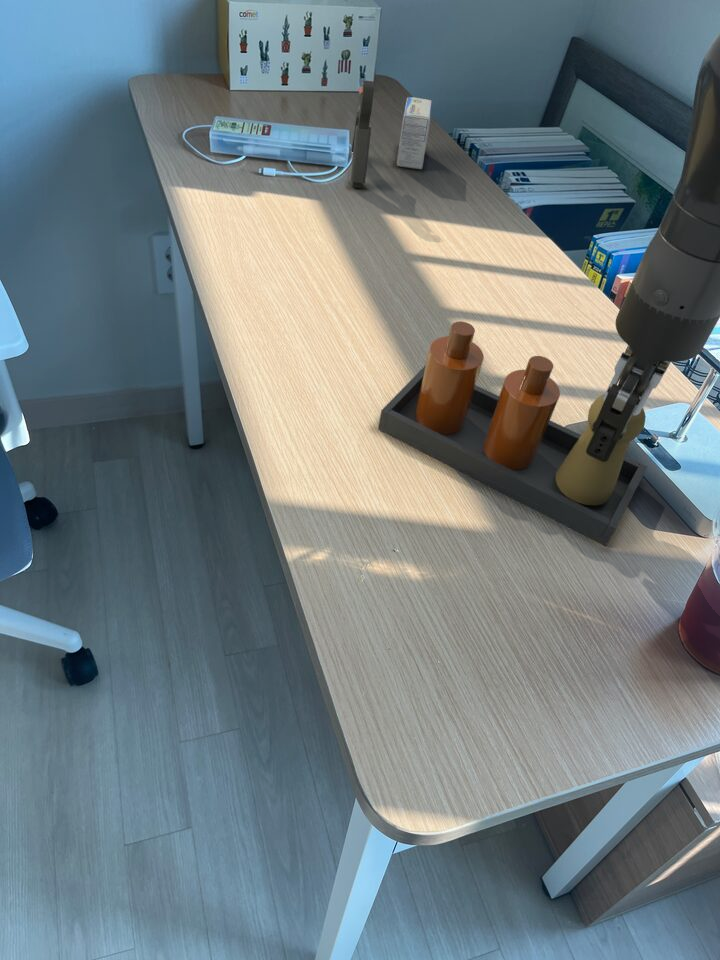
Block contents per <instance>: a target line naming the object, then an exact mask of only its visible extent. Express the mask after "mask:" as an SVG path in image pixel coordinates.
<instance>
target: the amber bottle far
mask: <svg viewBox="0 0 720 960" xmlns="http://www.w3.org/2000/svg"><path fill="white" fill-rule="evenodd" d="M475 333H476V328H475V327H474V326H473V325H472V324H471V323H469V322H466V321H455V322H453V323H452V324H451V326H450V330H449V334H448V335H445V336H441V337H439V338H436V339H435V340H433V342H431V344H430V346H429V350H428V353H427V358H426V363H425V365H426V367H425V371H424V376H423V380H422V384H421V389H420V393H419V397H418V402H417V406H416V410H415V417H416V419H417V421H418V423H419V424H421V425H423V426H425V427H427V428H429V429H431V430H433V431H435V432H437V433H439V434H452V433H455V432H457V431H459V430H460V429H461V428H462V427H463V426H464V423H465V420H466V417H467V413H468V410H469V407H470V403H471V400H472V397H473V393H474V390H475V386H477V382H478V379H479V376H480V373H481V369H482V366H483V363H484V353H483V350H482V348H480V346H479V345H477V344H476V343H475V342H473V340H474V338H475V337H474V336H475Z"/></svg>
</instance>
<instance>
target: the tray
mask: <svg viewBox="0 0 720 960" xmlns="http://www.w3.org/2000/svg"><path fill="white" fill-rule="evenodd" d="M425 367H426V364H425V365H424V366H423V367H422V368H421V369H420V370H419V371H418V372H417V373H416V374H415V375H414V376H413V377H412V379H410V380H409V382H407V383H406V384H405V385H404V386H403V387H402V389H400V391H398V392H397V394H396V395H395V396H394V397H393V398H392V399H390V401H388V403H387V404H386V405H385V406H384V407H383V408H382V409H381V410H380V416H379V422H378V425H377V430H379V431H381V432H383V433H385V434H386V435H389V436H390V437H393V438H394V439H396V440H397V441H400V442H401V443H404V444H406V445H408V446H410V447H412V448H414V449H415V450H418V451H420V452H422V453H423V454H425V455H427V456H429V457H431V458H433V459H435V460H437V461H439V462H441V463H443V464H445V465H447V466H449V467H451V468H453V469H454V470H456V471H459V472H461V473H462V474H464V475H466V476H468V477H470V478H472V479H474V480H476V481H478V482H480V483H482V484H484V485H485V486H487V487H490V488H492V489H494V490H496V491H497V492H499V493H501V494H503V495H506V496H507V497H509V498H511V499H513V500H515V501H517V502H519V503H521V504H523V505H525V506H527V507H529V508H531V509H533V510H535V511H536V512H538V513H541V514H542V515H544V516H547V517H548V518H550V519H552V520H554V521H556V522H558V523H560V524H562V525H564V526H566V527H567V528H570V529H571V530H573V531H576V532H577V533H579V534H581V535H583V536H585V537H587V538H589V539H591V540H592V541H595V542H597V543H599V544H600V545H602V546H605V547H606V546H607V545H608V543H609V541H610V540H611V538H612V536H613V535H614V532H615V531H616V529H617V527H618V526H619V524H620V521H621V520H622V517H623V516H624V514H625V512H626V510H627V508H628V506H629V504H630V503H631V501H632V498H633V496H634V495H635V492H636V490H637V488H638V487H639V484H640V483H641V480H642V479H643V477H644V474H645V473H646V471H647V469H648V465H645V464H643V463H640V461H637V460H635V459H633V458H631V457H628V456H627V455H625V458H624V461H623V464H622V467H621V470H620V473H619V476H618V479H617V482H616V485H615V488H614V491H613V495H612V496H611V498H610V499H609V501H607V502H605V503H604V504H600V505H595V506H593V505H584V504H581V503H578V502H575V501H574V500H572V499H570V498H568V497H567V496H566V495H565V494H564V493H563V492H562V491H561V490H560V489H559V487H558V485H557V483H556V479H555V477H556V472H557V470H558V469H559V467H560V466H561V464H562V463H563V461H564V460H565V459H566V457H567V456H568V454H569V453H570V451H571V450H572V448H573V447H574V445H575V444H576V442H577V441H578V439H579V438H580V436H581V435H582V434H580V433H578V432H576V431H573V430H571V429H569V428H568V427H565V426H563V425H561V424H559V423H557V422H554V421H552V420H550V422H549V424H548V426H547V429H546V431H545V434H544V436H543V439H542V441H541V444H540V446H539V449H538V451H537V453H536V456H535V458H534V461H533V463H532V464H531V465H530V466H528V467H527V468H524V469H520V470H511V469H509V468H507V467H505V466H503V465H501V464H499V463H497V462H495V461H493V460H491V459H489V458H488V457H487V456H486V454H485V452H484V449H483V444H484V441H485V438H486V435H487V432H488V429H489V426H490V423H491V420H492V417H493V414H494V411H495V408H496V405H497V402H498V399H499V396H500V395H498V394H496V393H493V392H491V391H489V390H487V389H485V388H483V387H481V386H479V385H476V386H475V390H474V393H473V397H472V400H471V403H470V407H469V410H468V413H467V417H466V420H465V423H464V426H463V427H462V428H461V429H460V430H459V431H457V432H455V433H452V434H439V433H437V432H435V431H433V430H431V429H429V428H427V427H425V426H423V425H421V424H419V423H418V421H417V419H416V417H415V410H416V406H417V402H418V397H419V393H420V389H421V384H422V380H423V376H424V371H425Z"/></svg>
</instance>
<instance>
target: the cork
mask: <svg viewBox="0 0 720 960" xmlns="http://www.w3.org/2000/svg"><path fill="white" fill-rule="evenodd" d="M604 395H605V393H603V394H601V395H600V396H599V395H598V397H597V398H596V399H595V400H594V401H593V402H592V403H591V404H590V406H589V409H588V414H587V423H588V424H587V425H586V426H585V429H584V430H583V431H582V433H581V434H580V435H581V436H580V438H579V439H578V441H577V442H576V444H575V445H574V447H573V448H572V450H571V451H570V453H569V454H568V456H567V457H566V459H565V460H564V461H563V463H562V464H561V466H560V467H559V469H558V470H557V472H556V477H555V479H556V483H557V485H558V487H559V489H560V490H561V491H562V492H563V493H564V494H565V495H566V496H567V497H568V498H570V499H572V500H574V501H575V502H578V503H581V504H584V505H593V506H595V505H600V504H604V503H605V502H607V501H609V499H610V498H611V496H612V495H613V491H614V488H615V485H616V482H617V479H618V476H619V473H620V470H621V467H622V464H623V461H624V458H625V456H627V455H626V454H627V451H628V448H629V446H630V443H631V441H634V440H635V439H636V438H638V437H639V435H640V434H641V433H642V431H643V429H644V428H645V424H646V417H647V416H646V412H645V410H644V407H643V408H642V410H641V412H640V413H639V414H638V415H636V416H632V417H631V419H630V421H629V423H628V424H627V426H626V429H627V430H626V432H625V434H623V436H622V438H621V439H619V440H618V442H617V444H616V446H615V448H614V450H613V452H612V453H611V455H610V457H609V459H608V461H606V462H602V461H600V460H598V459H596V458H593V457H591V456H589V455H588V454H587V453H586V449H587V447H588V445H589V443H590V440H591V438H592V436H593V434H594V431H592V429H593V426H592V425H593V423H594V421H596V419H597V417H598V415H599V413H600V410H601V408H602V406H603V403H604V400H603V397H604Z"/></svg>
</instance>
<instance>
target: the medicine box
mask: <svg viewBox="0 0 720 960" xmlns="http://www.w3.org/2000/svg"><path fill="white" fill-rule="evenodd" d="M432 107H433V101H432V100H430V99H425V98H421V97H413V96H412V97H411V96H408V97H406V101H405V107H404V113H403V117H402V123H401V131H400V138H399V145H398V152H397V159H396V166H397V167H401V168H405V169H406V168H407V169H412V170H413V169H414V170H422V169H423V167H424V160H425V154H426V147H427V143H428V136H429V132H430V131H429V130H430V124H431V116H432Z"/></svg>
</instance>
